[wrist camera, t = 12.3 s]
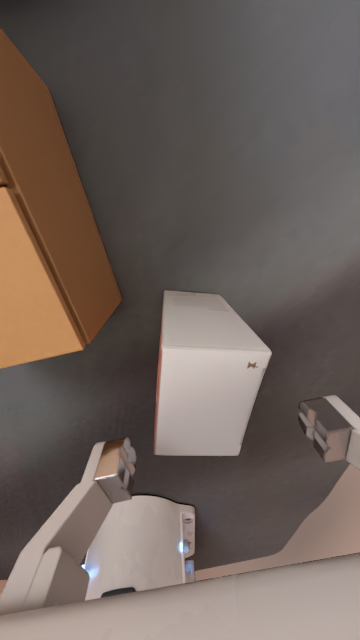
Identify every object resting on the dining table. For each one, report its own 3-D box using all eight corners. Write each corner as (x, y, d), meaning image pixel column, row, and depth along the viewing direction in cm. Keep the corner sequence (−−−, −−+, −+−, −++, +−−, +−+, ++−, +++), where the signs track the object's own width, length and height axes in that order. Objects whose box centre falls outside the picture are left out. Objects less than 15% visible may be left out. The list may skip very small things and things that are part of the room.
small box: (163, 288, 19) (159, 343, 9) (221, 293, 19) (276, 350, 9) (158, 359, 22) (151, 458, 12) (208, 362, 22) (240, 459, 12)
